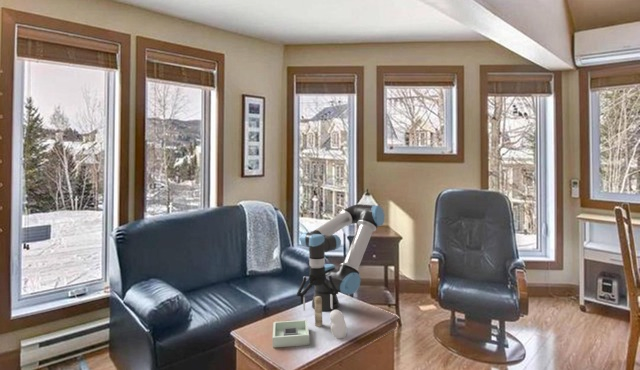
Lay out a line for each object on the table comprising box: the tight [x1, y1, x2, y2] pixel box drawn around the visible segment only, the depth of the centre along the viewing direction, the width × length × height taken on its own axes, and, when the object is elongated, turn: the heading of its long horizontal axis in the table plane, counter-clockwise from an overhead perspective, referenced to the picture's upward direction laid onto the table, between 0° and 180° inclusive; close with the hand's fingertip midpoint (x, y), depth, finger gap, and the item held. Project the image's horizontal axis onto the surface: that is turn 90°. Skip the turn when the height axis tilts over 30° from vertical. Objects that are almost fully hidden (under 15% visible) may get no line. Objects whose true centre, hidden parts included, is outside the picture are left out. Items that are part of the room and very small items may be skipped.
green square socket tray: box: [272, 319, 310, 349], centre depth 168 cm, size 16×16×4 cm
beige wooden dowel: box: [313, 296, 323, 328], centre depth 180 cm, size 4×4×14 cm
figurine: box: [329, 309, 347, 339], centre depth 169 cm, size 7×8×12 cm
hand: (317, 308), depth 180 cm, fingers open, 13 cm apart
